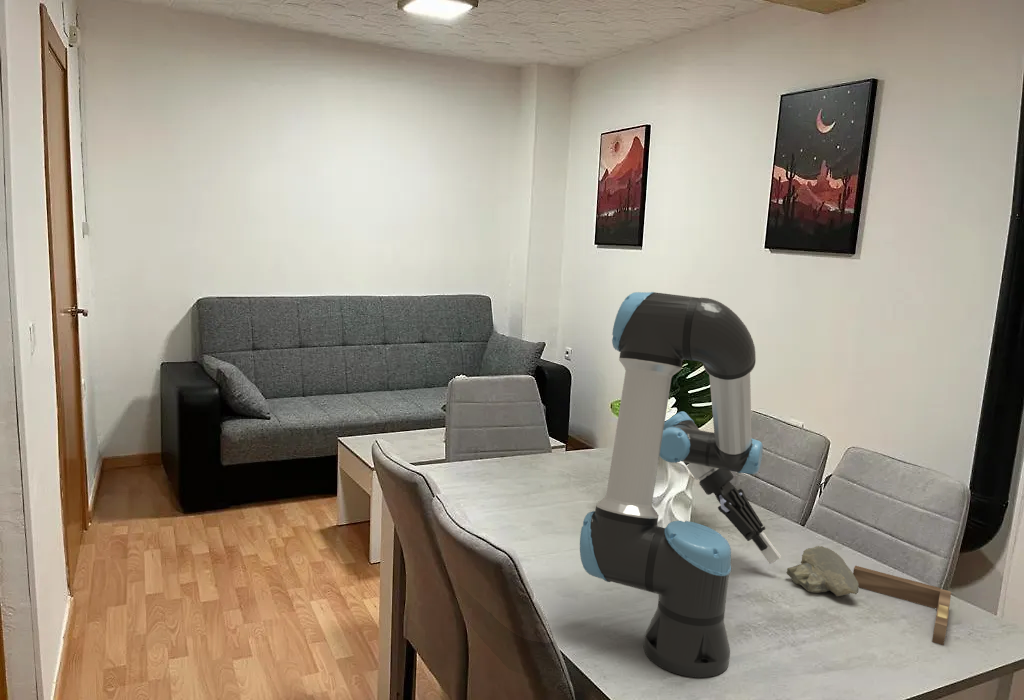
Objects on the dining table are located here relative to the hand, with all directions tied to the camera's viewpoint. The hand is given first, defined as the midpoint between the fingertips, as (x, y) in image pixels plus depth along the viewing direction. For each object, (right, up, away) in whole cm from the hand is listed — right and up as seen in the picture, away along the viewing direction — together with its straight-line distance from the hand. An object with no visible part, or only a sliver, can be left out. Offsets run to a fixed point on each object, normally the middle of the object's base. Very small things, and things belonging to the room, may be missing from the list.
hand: (775, 560), depth 173 cm
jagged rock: (+9, -6, -5) cm, 11 cm away
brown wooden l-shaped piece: (+21, -8, -12) cm, 25 cm away
